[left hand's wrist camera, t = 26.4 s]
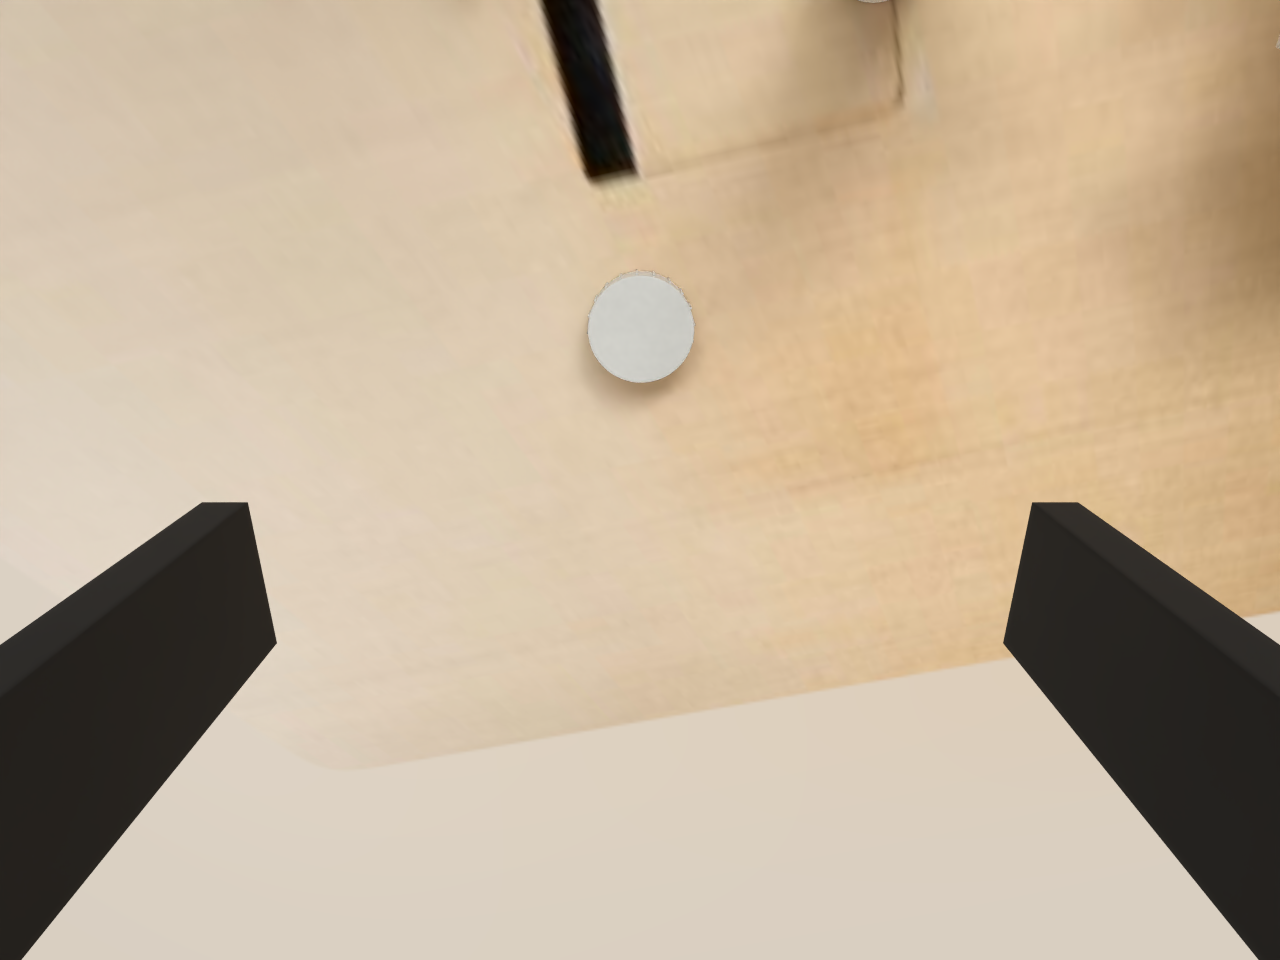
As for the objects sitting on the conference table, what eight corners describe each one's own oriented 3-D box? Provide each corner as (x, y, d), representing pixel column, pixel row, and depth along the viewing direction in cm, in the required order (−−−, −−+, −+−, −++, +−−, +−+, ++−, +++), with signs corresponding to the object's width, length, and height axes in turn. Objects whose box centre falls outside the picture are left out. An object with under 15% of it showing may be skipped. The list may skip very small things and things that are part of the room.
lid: (578, 283, 38) (574, 289, 36) (680, 258, 38) (682, 262, 35) (604, 383, 40) (602, 394, 38) (701, 360, 39) (705, 370, 37)
